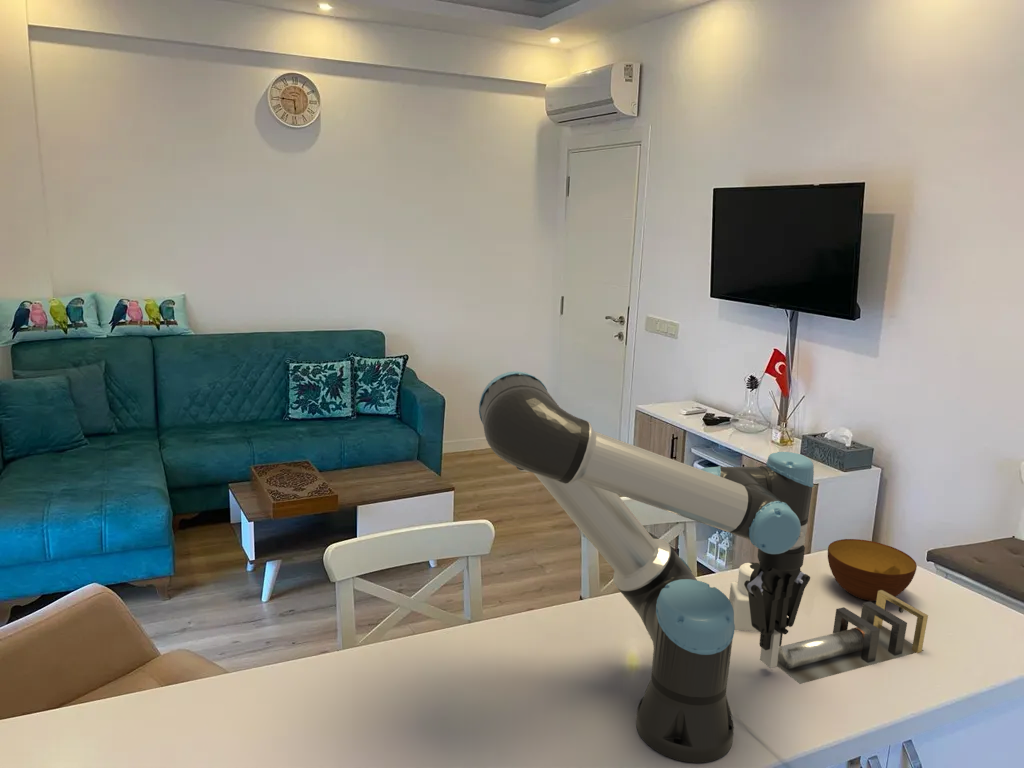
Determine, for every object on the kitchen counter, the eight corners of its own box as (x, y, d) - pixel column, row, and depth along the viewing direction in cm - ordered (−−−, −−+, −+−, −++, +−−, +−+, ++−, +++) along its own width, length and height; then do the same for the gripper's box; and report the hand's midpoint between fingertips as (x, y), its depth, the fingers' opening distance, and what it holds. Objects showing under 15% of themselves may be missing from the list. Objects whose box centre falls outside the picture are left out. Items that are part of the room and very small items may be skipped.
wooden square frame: (917, 653, 142) (923, 616, 141) (872, 625, 152) (877, 590, 150) (921, 652, 143) (928, 615, 141) (876, 624, 152) (882, 589, 150)
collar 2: (894, 655, 141) (899, 624, 140) (858, 632, 149) (862, 603, 147) (902, 653, 142) (907, 622, 141) (865, 630, 150) (870, 601, 148)
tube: (792, 674, 134) (795, 653, 133) (775, 661, 138) (778, 641, 137) (873, 652, 142) (876, 632, 141) (856, 641, 146) (858, 621, 145)
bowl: (912, 593, 168) (919, 552, 166) (905, 627, 154) (913, 582, 151) (829, 571, 177) (835, 532, 175) (815, 601, 163) (821, 559, 160)
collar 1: (867, 662, 139) (872, 631, 137) (831, 639, 146) (836, 608, 145) (875, 660, 139) (880, 629, 138) (839, 637, 147) (844, 607, 146)
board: (799, 689, 131) (799, 684, 131) (760, 658, 140) (760, 653, 140) (923, 655, 144) (924, 650, 143) (880, 629, 152) (880, 624, 152)
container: (764, 617, 155) (771, 560, 152) (773, 638, 148) (781, 577, 145) (726, 614, 156) (733, 557, 153) (733, 634, 148) (740, 574, 146)
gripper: (767, 555, 123) (753, 682, 128) (827, 544, 128) (811, 667, 133) (737, 537, 130) (725, 659, 135) (795, 528, 135) (781, 645, 140)
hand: (768, 663), depth 134 cm, fingers closed
